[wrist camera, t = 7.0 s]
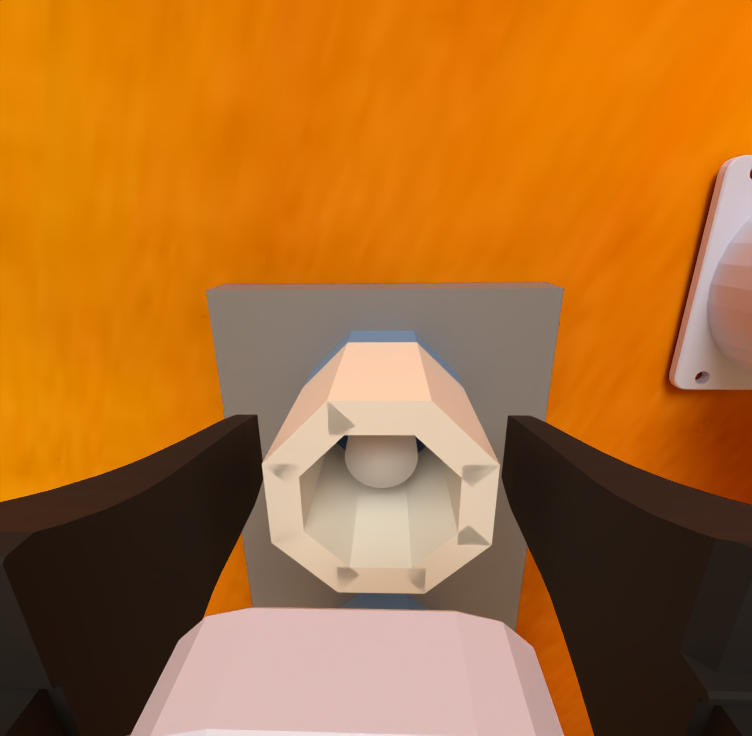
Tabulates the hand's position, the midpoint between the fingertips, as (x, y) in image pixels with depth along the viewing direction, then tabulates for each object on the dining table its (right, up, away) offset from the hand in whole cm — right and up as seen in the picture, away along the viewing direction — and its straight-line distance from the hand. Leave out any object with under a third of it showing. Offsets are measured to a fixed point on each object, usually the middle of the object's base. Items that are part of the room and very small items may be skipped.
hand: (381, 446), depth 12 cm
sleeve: (0, +1, +3) cm, 3 cm away
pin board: (0, -4, +7) cm, 8 cm away
